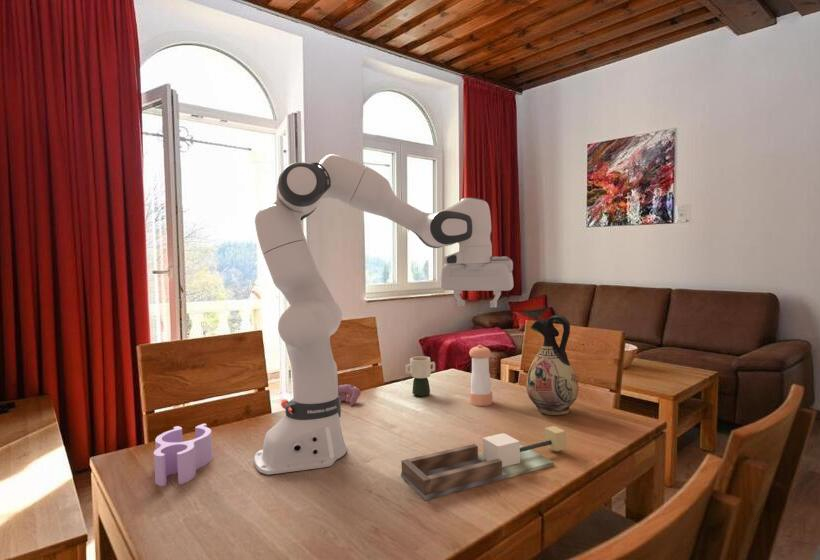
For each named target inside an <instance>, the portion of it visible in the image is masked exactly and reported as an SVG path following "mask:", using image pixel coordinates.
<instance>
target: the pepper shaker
mask: <svg viewBox="0 0 820 560" xmlns="http://www.w3.org/2000/svg"><path fill="white" fill-rule="evenodd" d="M491 351H492V350H491V349H490V348H488V347H486V346H483V345H482V344H478V345H477V346H474V347H472V348H471V349H470V350H469V352H468V353H469V357H470V358H471V375H470V376H471V377H470V392H469V403H470V404H471V405H473V406H478V407H484V406H491V405H492V404H493V392H492V380H491V374H490V366H489V365H490V364H489V363H490V359H489V358H490V357H491V354H492V352H491Z"/></svg>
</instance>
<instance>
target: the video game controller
mask: <svg viewBox="0 0 820 560" xmlns="http://www.w3.org/2000/svg"><path fill="white" fill-rule="evenodd" d="M347 394H349V395H347ZM338 395H339V396H340V402H346V401H347V402H348V403H349V406H352V405H353V406H355V404H356V403H357V401H358V399H359V397H360V396H361V390H360V388H358V387H356V386H355V385H353V384H339V385H338ZM353 406H352V407H353Z"/></svg>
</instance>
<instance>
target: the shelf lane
mask: <svg viewBox="0 0 820 560" xmlns="http://www.w3.org/2000/svg"><path fill="white" fill-rule="evenodd" d="M524 446H525V445H523V444H521V443H520V447H524ZM478 447H479V446H478V445H477V444H475V443H473V444H468V445H465V446H464V445H463V446H460V447H455V448H451V449H447V450H442V451H436V452H432V453H428V454H424V455H421V456H419V455H418V456H416V457H411V458H407V459H402V460H401V461H400V462H401V472H400V478H402V479H403V480H404V481H405V482H406V483H407V484H408V485H409V486H410V488H412V489H414V491H415V492H416V493H418V495H420V497H421V498H422V499H424V500H425V501H428V500H431V499H435V498H439V497H443V496H446V495H449V494H454V493H457V492H462V491H464V490H467V489H472V488H475V487H479V486H483V485H487V484H490V483H494V482H497V481H501V480H505V479H509V478H512V477H515V476H520V475H524V474H527V473H531V472H534V471H539V470H542V469H546V468H549V467H553V466H555V462H554V461H553V460H551V459H549V458H547V457H545V456H543V455H542V454H540V453H538V452H536V451H534V450H533V449H531V450H527V451H523V452H520V463H518V464H514V465H510V466H506V467H502V461H501V460H499V459H494V460H490V461H486V460H484V459H483V452H482V453H479V448H478Z"/></svg>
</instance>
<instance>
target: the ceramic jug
mask: <svg viewBox="0 0 820 560" xmlns="http://www.w3.org/2000/svg"><path fill="white" fill-rule="evenodd" d="M555 322H556V323H559V324H561V325H562V327H563V332H562V336H561V341H560V343H559V344H558V343H557V340H556V337H559V336H560V332H559V330H558V329H557V328H556V327H555V326H554V323H555ZM530 329H531V330H532V331H535V332H537V333H539V334H541V335H542V336H543V344H542V346H541V347H540V349H539V351H538V352H537V353H536V355H535V357H534V358H533V360H532V362H531V364H530V366H529V369H528V373H527V376H526V381H525V382H526V383H525V385H526V386H525V387H526V392H527V396H528V398H529V399H530V400H531V402H532V403H533V404H534V406H536V408H537V412H538V413H540V414H544V415H549V416H561V415H567V414H569V412H570V407H571V406H572V405H573V404H574V403H575V402H576V400H577V398H578V395H579V389H580V387H579V381H578V375H577V374H576V371H575V370H574V367H573V365H572V363H571V362H570V360H569V357H568V354H567V351H566V349H567V344H568V340H569V337H570V334H571V325H570V321H569V320H568V319H567V318H566V317H565V316H564V315H561V314H554V315H551V316H550V317H548V318H547V320H546V318H545V317H542V319H541V320H538V319H537V320H535V321H534V322H533V323H532V325H531V326H530Z"/></svg>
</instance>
